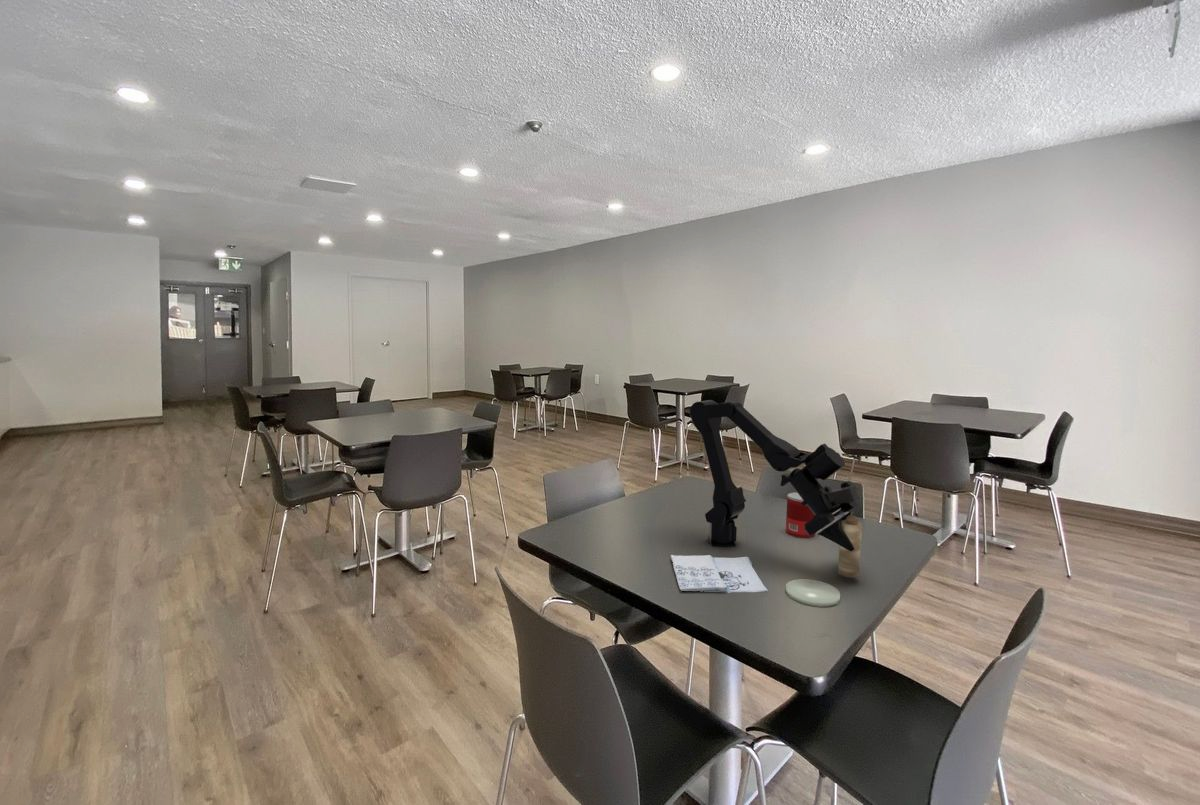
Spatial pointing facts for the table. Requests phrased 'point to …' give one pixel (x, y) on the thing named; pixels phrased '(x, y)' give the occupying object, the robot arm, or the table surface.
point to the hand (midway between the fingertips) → (856, 547)
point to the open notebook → (716, 574)
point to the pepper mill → (848, 559)
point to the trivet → (813, 592)
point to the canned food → (797, 516)
